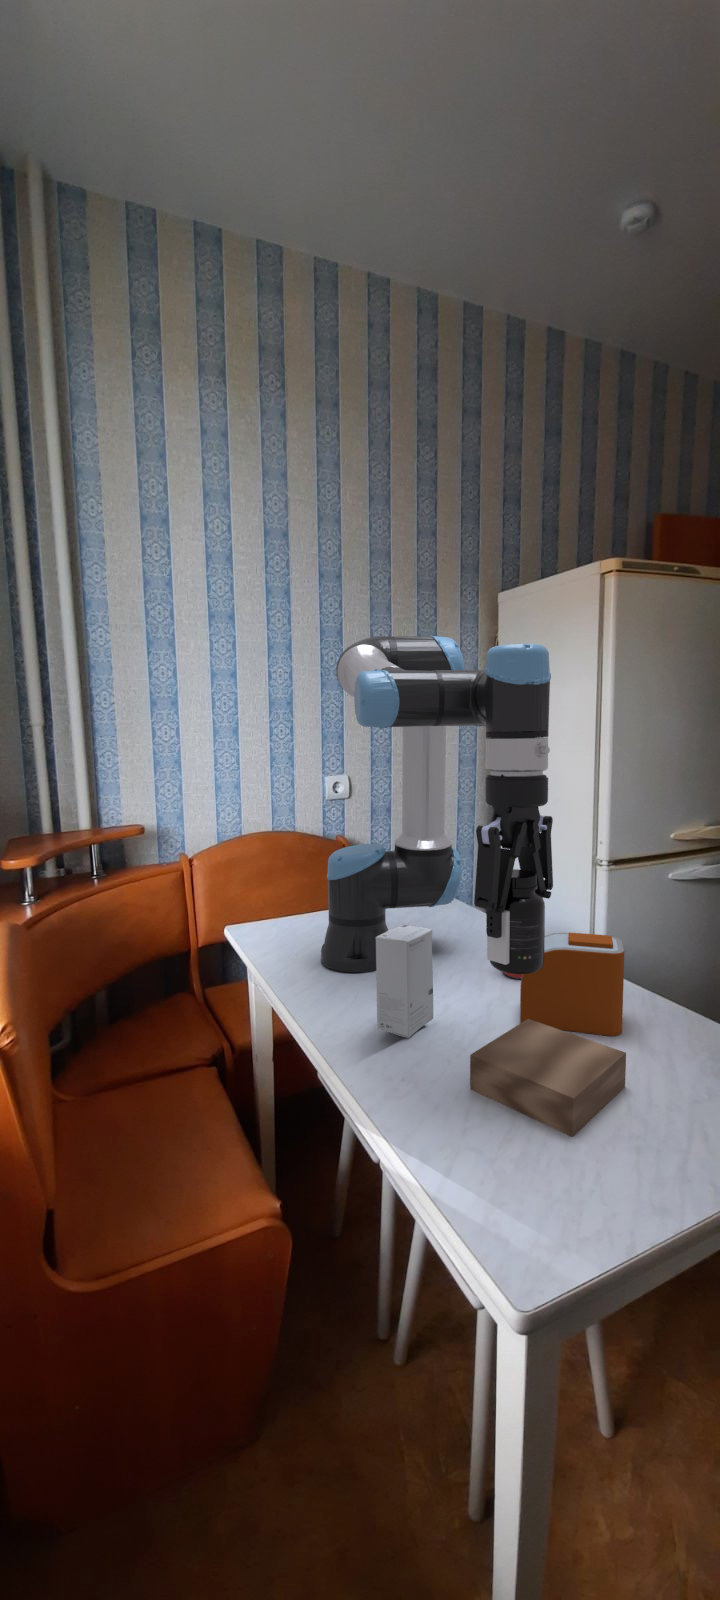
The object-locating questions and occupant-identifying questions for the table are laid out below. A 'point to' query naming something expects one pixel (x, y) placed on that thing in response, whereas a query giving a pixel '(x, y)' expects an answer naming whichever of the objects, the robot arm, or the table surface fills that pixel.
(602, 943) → the alarm clock
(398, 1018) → the skincare box
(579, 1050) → the walnut block
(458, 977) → the table surface
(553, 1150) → the table surface
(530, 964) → the supplement bottle
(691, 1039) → the table surface
